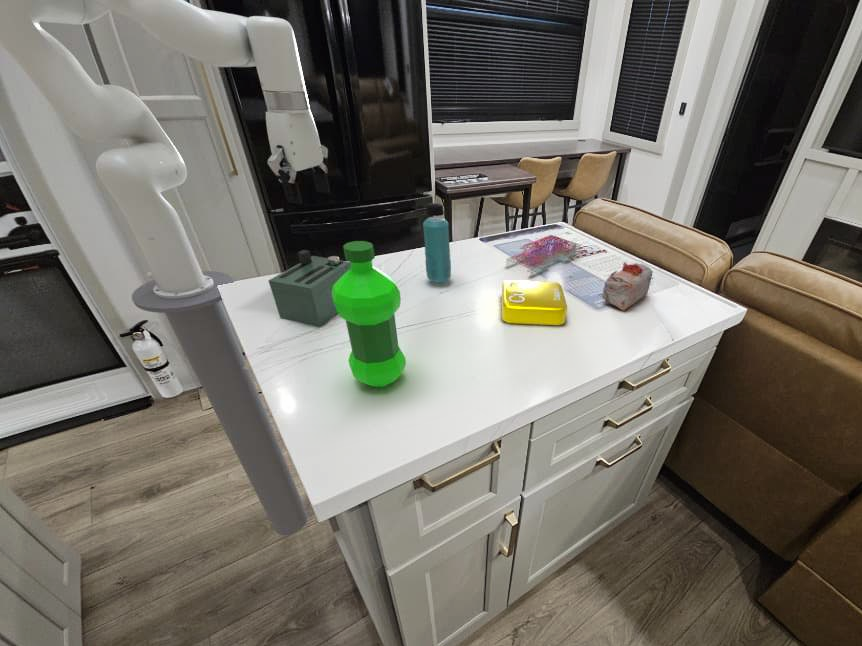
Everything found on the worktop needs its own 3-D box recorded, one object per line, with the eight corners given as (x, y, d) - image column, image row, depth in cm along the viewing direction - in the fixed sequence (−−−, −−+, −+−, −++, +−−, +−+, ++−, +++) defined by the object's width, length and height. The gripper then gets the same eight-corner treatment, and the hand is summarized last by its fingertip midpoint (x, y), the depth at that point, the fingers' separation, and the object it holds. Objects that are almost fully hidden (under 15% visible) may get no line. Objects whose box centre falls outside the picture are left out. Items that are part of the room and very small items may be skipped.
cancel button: (327, 268, 95) (325, 259, 94) (333, 264, 97) (331, 255, 96) (336, 269, 95) (335, 260, 94) (342, 266, 97) (341, 256, 95)
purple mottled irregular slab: (533, 281, 116) (534, 263, 113) (492, 265, 123) (493, 247, 120) (589, 254, 135) (592, 238, 132) (551, 242, 142) (553, 226, 139)
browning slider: (300, 263, 94) (297, 252, 92) (305, 260, 95) (303, 249, 94) (306, 264, 93) (303, 253, 92) (312, 261, 95) (309, 250, 93)
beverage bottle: (455, 285, 111) (453, 206, 99) (432, 289, 108) (427, 209, 96) (445, 275, 115) (442, 199, 103) (422, 279, 112) (416, 201, 100)
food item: (625, 314, 104) (634, 277, 98) (597, 303, 108) (605, 267, 102) (649, 297, 112) (659, 262, 106) (622, 288, 116) (631, 253, 110)
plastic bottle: (399, 357, 83) (382, 231, 68) (415, 388, 76) (401, 254, 60) (346, 369, 79) (317, 237, 64) (359, 402, 72) (328, 263, 56)
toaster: (280, 318, 92) (267, 280, 86) (321, 290, 104) (312, 255, 98) (320, 326, 90) (310, 287, 85) (357, 297, 102) (350, 261, 96)
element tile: (565, 326, 97) (568, 308, 94) (501, 323, 96) (502, 304, 93) (558, 297, 109) (561, 280, 106) (501, 294, 108) (502, 277, 105)
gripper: (299, 98, 87) (319, 186, 97) (236, 103, 74) (266, 205, 84) (331, 101, 86) (347, 190, 96) (272, 107, 72) (298, 209, 83)
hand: (309, 197), depth 90 cm, fingers open, 9 cm apart
